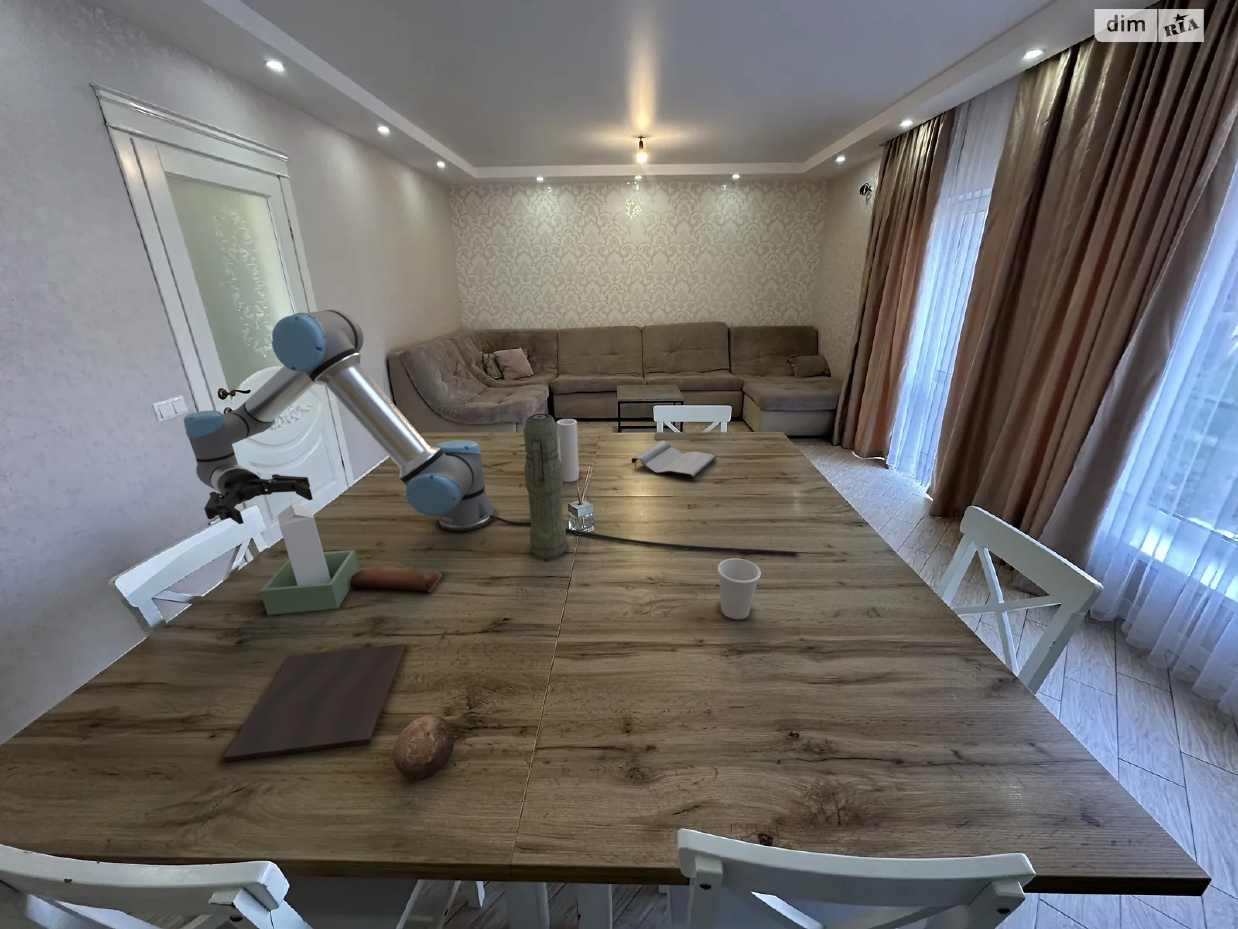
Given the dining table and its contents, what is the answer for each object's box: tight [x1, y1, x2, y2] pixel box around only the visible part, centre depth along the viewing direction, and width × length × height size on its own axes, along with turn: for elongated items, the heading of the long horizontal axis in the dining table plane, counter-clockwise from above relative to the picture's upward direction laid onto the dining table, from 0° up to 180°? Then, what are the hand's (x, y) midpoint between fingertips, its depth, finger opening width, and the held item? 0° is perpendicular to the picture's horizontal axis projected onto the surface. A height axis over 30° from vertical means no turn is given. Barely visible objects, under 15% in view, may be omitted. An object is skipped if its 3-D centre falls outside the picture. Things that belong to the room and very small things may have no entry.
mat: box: [631, 440, 718, 479], centre depth 175 cm, size 23×24×5 cm
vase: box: [556, 418, 580, 483], centre depth 161 cm, size 11×7×20 cm, turn 93°
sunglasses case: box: [350, 564, 443, 593], centre depth 109 cm, size 18×7×7 cm
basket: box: [259, 549, 361, 616], centre depth 106 cm, size 14×14×6 cm
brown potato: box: [392, 714, 455, 780], centre depth 69 cm, size 8×8×6 cm
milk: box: [277, 498, 332, 586], centre depth 103 cm, size 6×6×22 cm
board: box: [222, 643, 406, 763], centre depth 80 cm, size 20×20×1 cm
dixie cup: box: [717, 557, 762, 620], centre depth 98 cm, size 8×8×10 cm
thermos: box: [523, 413, 567, 560], centre depth 116 cm, size 9×12×35 cm
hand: (276, 505), depth 104 cm, fingers open, 13 cm apart
